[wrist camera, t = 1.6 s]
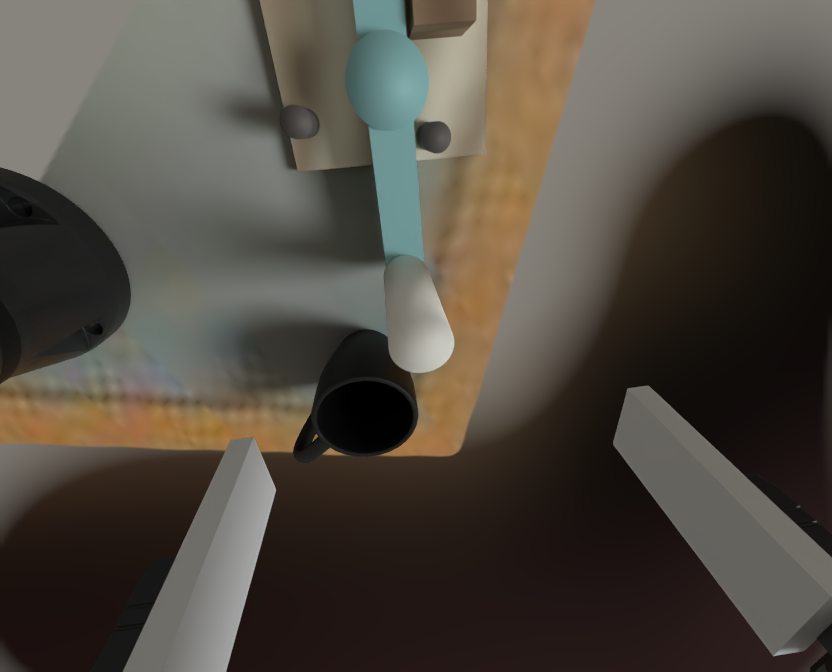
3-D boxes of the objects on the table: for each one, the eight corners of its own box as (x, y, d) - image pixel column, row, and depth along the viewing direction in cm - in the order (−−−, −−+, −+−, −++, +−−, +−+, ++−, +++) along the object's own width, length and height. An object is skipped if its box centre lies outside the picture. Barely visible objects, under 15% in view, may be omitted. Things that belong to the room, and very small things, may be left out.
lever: (377, 287, 30) (379, 378, 19) (325, -74, 20) (264, -329, 9) (433, 281, 31) (467, 367, 20) (412, -79, 20) (461, -336, 9)
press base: (300, 170, 27) (286, 178, 23) (256, -28, 22) (228, -66, 18) (481, 153, 28) (501, 157, 24) (483, -44, 23) (509, -84, 18)
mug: (279, 370, 36) (251, 442, 28) (372, 300, 33) (372, 356, 25) (336, 417, 40) (327, 492, 32) (424, 357, 37) (439, 422, 29)
